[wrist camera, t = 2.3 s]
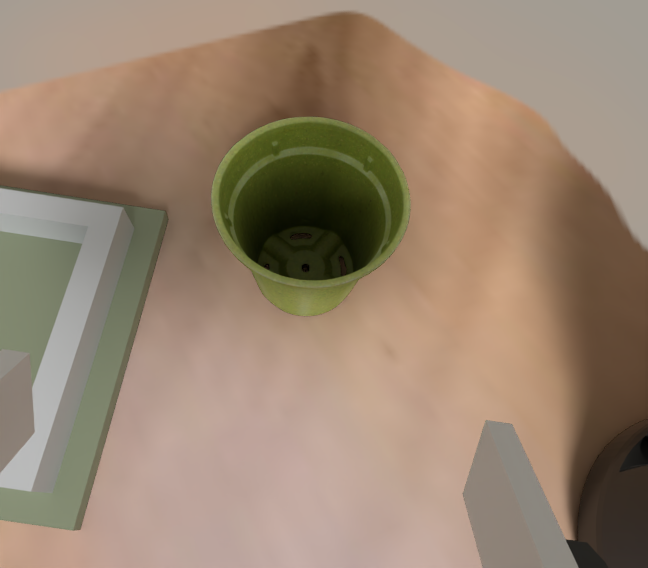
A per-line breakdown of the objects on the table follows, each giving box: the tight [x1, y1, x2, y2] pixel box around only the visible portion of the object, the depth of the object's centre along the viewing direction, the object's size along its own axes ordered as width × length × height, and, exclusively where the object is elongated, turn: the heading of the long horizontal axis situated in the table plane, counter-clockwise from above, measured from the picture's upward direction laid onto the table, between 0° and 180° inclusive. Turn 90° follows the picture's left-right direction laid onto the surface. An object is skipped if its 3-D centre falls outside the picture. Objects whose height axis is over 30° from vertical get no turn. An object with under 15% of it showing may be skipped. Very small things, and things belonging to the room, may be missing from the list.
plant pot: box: [211, 117, 410, 316], centre depth 30 cm, size 9×9×9 cm
